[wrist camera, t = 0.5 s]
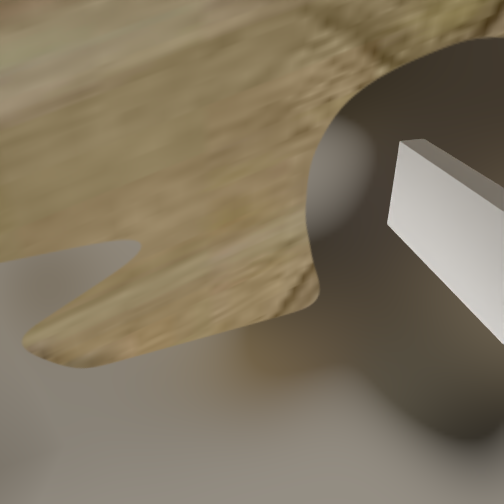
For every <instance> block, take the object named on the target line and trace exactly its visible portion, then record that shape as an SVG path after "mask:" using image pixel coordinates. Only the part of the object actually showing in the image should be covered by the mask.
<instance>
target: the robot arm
mask: <svg viewBox="0 0 504 504" xmlns="http://www.w3.org/2000/svg"><path fill="white" fill-rule="evenodd" d="M387 224H388V225H389V226H390V227H391V228H392V229H393V231H395V233H396V234H397V235H398V236H399V237H400V238H401V239H402V240H403V241H404V242H405V243H406V244H407V245H408V246H409V247H410V248H411V249H412V250H413V251H414V252H415V253H416V254H417V255H418V256H419V257H420V258H421V259H422V261H423V262H424V263H426V265H428V267H429V268H430V269H431V270H432V271H433V272H434V273H435V274H436V275H437V276H438V277H439V278H440V279H441V280H442V281H443V282H444V283H445V284H446V285H447V286H448V287H449V288H450V290H451V291H452V292H454V294H455V295H456V296H457V297H458V298H459V299H460V300H461V301H462V302H463V303H464V304H465V305H466V306H467V307H468V308H469V309H470V310H471V311H472V312H473V313H474V314H475V315H476V316H477V317H478V319H480V321H481V322H482V323H483V324H484V325H485V326H486V327H487V328H488V329H489V330H490V331H491V332H492V333H493V334H494V335H495V336H496V337H497V338H498V339H499V340H500V341H501V342H502V343H503V344H504V188H503V187H501V186H500V185H498V184H496V183H495V182H493V181H492V180H490V179H488V178H487V177H485V176H483V175H482V174H480V173H479V172H477V171H475V170H473V169H472V168H470V167H469V166H467V165H466V164H464V163H462V162H461V161H459V160H457V159H456V158H454V157H453V156H451V155H449V154H448V153H446V152H444V151H443V150H441V149H440V148H438V147H436V146H435V145H433V144H431V143H430V142H428V141H427V140H425V139H417V140H407V141H400V144H399V150H398V157H397V164H396V170H395V176H394V183H393V190H392V196H391V203H390V210H389V216H388V222H387Z"/></svg>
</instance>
